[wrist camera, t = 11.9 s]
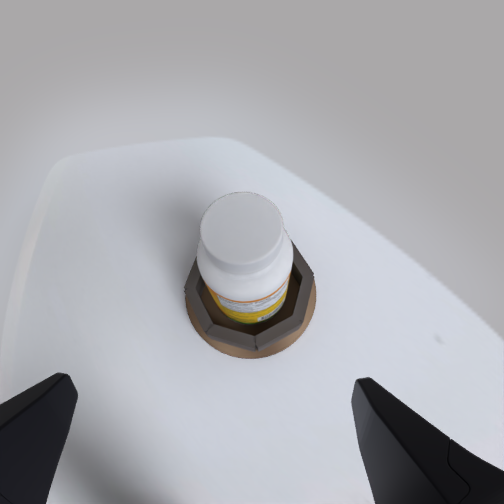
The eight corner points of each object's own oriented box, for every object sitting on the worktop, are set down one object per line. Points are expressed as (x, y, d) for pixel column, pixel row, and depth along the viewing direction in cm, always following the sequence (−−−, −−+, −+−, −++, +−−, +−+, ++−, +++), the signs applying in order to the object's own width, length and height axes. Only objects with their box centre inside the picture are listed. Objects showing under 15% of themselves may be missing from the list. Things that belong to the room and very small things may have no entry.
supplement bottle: (222, 254, 24) (200, 175, 16) (290, 264, 24) (303, 186, 15) (208, 319, 22) (170, 268, 13) (280, 331, 21) (291, 287, 13)
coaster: (222, 382, 21) (217, 380, 18) (168, 271, 25) (159, 257, 22) (339, 317, 22) (347, 307, 20) (274, 219, 26) (274, 201, 24)
